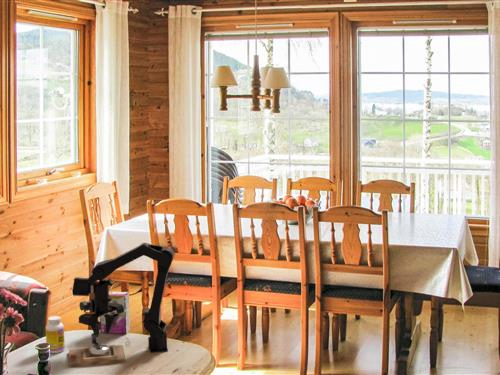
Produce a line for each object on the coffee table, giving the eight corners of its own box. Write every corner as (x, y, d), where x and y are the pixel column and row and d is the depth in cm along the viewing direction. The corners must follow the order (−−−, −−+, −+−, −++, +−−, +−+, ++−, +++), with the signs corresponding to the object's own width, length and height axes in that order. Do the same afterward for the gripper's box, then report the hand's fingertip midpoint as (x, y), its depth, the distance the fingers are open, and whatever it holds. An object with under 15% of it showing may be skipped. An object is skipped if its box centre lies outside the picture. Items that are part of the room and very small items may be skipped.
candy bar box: (99, 333, 312) (98, 294, 310) (103, 329, 317) (102, 290, 314) (126, 334, 310) (125, 295, 308) (130, 330, 315) (129, 291, 313)
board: (123, 348, 295) (122, 342, 295) (125, 362, 281) (125, 355, 280) (69, 352, 291) (69, 346, 291) (69, 367, 276) (68, 360, 276)
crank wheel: (111, 355, 284) (111, 339, 283) (93, 358, 280) (92, 343, 279) (102, 346, 293) (102, 331, 292) (84, 350, 289) (84, 334, 288)
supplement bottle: (60, 354, 289) (58, 321, 287) (43, 353, 291) (42, 320, 289) (67, 348, 296) (66, 315, 294) (51, 347, 297) (50, 314, 295)
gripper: (103, 285, 303) (104, 323, 306) (67, 298, 288) (68, 337, 291) (124, 291, 297) (125, 329, 300) (89, 304, 282) (90, 344, 285)
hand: (102, 335), depth 294 cm, fingers open, 5 cm apart
